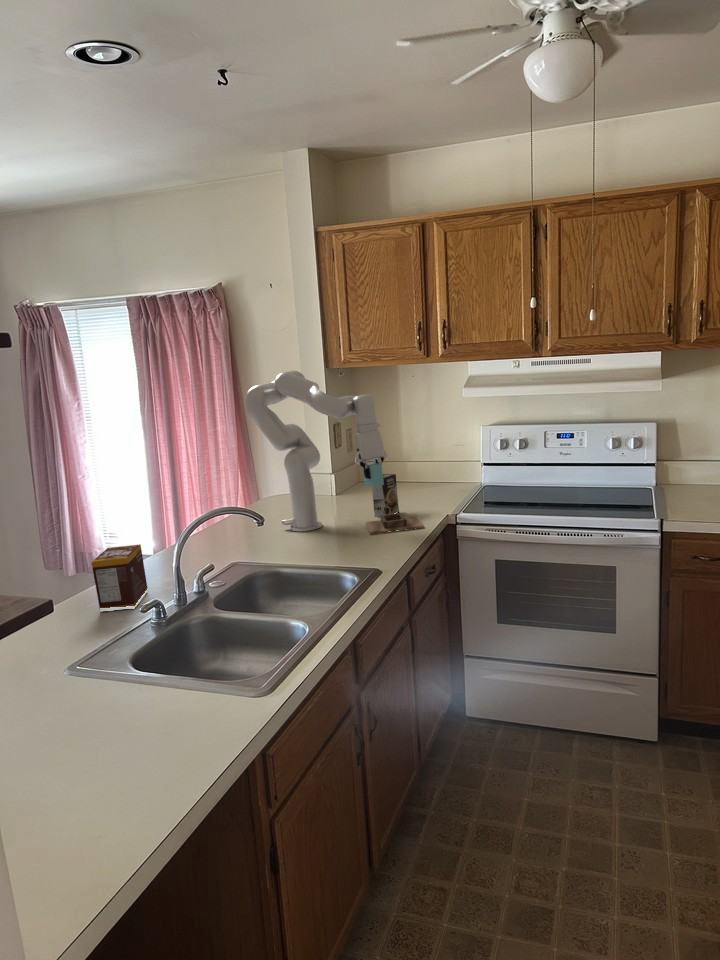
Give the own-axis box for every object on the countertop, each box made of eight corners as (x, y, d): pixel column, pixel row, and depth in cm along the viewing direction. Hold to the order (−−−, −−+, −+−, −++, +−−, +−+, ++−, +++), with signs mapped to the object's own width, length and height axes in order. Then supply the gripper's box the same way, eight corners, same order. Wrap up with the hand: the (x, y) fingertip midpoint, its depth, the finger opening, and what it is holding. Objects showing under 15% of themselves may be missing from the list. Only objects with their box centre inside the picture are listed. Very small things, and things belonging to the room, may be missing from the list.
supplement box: (148, 591, 224) (141, 543, 222) (135, 609, 209) (127, 558, 206) (115, 595, 224) (107, 547, 221) (99, 613, 209) (90, 561, 206)
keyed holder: (370, 534, 265) (369, 525, 264) (365, 524, 280) (364, 515, 280) (423, 528, 266) (422, 519, 266) (416, 518, 282) (415, 509, 281)
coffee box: (387, 517, 287) (383, 478, 284) (374, 516, 291) (370, 477, 288) (399, 512, 294) (396, 473, 292) (387, 511, 298) (383, 473, 295)
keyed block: (365, 485, 271) (362, 464, 270) (374, 483, 273) (371, 462, 272) (374, 487, 265) (372, 465, 264) (384, 484, 267) (381, 463, 266)
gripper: (381, 424, 273) (386, 472, 276) (342, 431, 265) (349, 480, 268) (391, 425, 266) (397, 473, 270) (352, 432, 258) (359, 482, 262)
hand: (373, 476), depth 269 cm, fingers closed on keyed block, 4 cm apart
